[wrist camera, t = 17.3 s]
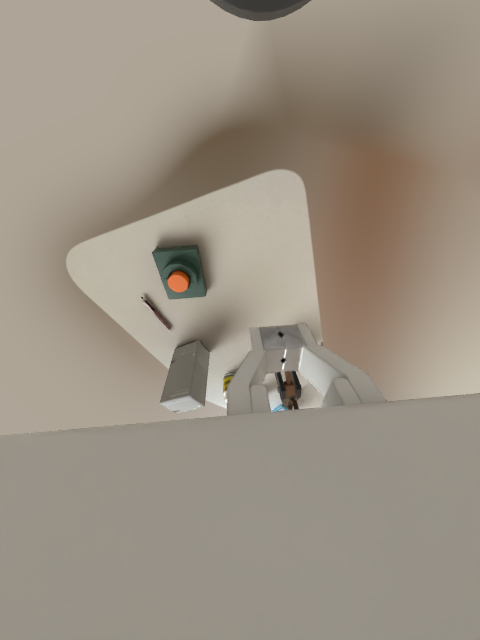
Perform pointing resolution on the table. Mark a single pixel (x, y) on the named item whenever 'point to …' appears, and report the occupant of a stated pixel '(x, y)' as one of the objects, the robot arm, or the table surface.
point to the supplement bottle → (226, 384)
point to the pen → (155, 313)
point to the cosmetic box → (186, 378)
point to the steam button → (178, 281)
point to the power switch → (289, 385)
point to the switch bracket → (282, 389)
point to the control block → (181, 269)
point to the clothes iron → (290, 402)
